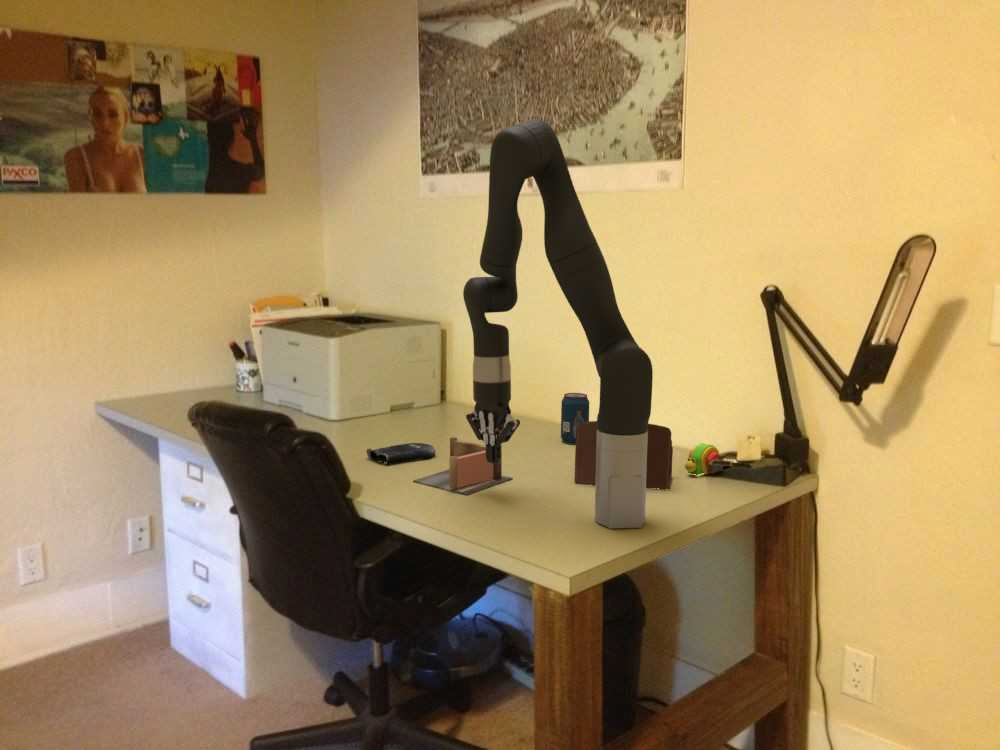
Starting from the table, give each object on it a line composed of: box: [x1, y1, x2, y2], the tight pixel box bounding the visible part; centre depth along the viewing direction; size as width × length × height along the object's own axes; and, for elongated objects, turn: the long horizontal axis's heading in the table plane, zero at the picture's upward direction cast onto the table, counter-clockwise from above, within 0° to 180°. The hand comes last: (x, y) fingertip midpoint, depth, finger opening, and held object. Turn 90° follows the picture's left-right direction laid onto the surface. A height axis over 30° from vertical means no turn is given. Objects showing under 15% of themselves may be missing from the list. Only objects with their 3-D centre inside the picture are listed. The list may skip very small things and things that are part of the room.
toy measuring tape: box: [684, 443, 721, 475], centre depth 203 cm, size 6×19×7 cm, turn 130°
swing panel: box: [449, 450, 493, 489], centre depth 189 cm, size 12×2×6 cm, turn 134°
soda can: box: [560, 392, 590, 445], centre depth 228 cm, size 7×7×12 cm
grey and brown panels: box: [413, 437, 514, 496], centre depth 194 cm, size 16×15×8 cm
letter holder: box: [573, 420, 674, 490], centre depth 194 cm, size 10×20×14 cm, turn 76°
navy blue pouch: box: [366, 442, 436, 466], centre depth 212 cm, size 9×6×15 cm
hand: (493, 462), depth 184 cm, fingers closed
